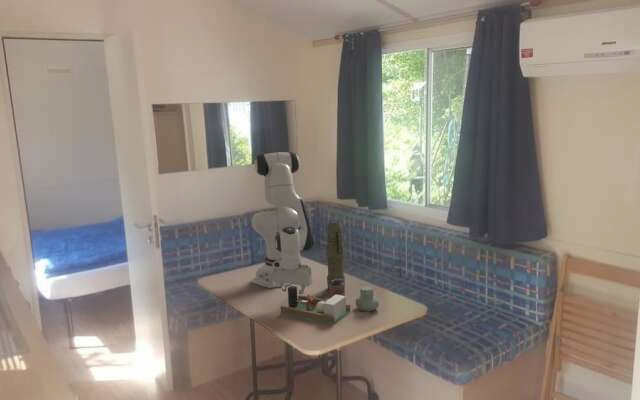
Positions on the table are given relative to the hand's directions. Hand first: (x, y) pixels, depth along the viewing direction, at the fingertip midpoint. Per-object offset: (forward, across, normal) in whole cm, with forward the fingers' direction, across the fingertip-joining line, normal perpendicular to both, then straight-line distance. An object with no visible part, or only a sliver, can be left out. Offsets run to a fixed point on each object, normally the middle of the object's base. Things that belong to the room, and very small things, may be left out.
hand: (292, 292), depth 235 cm
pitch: (+8, -12, 0) cm, 14 cm away
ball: (+5, -15, 0) cm, 16 cm away
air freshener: (+8, -31, -14) cm, 35 cm away
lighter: (+8, -13, -19) cm, 25 cm away
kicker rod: (+7, -4, 0) cm, 8 cm away
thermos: (+8, -6, -31) cm, 33 cm away
